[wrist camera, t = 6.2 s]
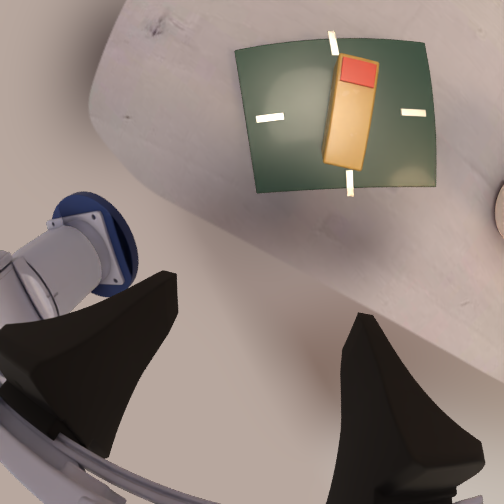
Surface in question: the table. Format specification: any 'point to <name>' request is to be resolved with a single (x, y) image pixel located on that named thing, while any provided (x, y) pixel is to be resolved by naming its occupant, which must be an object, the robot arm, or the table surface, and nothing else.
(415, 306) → the table surface
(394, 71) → the knob panel
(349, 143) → the yellow block
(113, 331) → the robot arm
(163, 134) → the table surface
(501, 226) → the drinking glass
